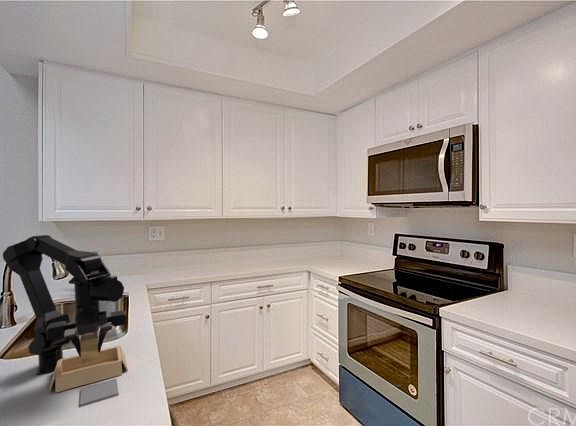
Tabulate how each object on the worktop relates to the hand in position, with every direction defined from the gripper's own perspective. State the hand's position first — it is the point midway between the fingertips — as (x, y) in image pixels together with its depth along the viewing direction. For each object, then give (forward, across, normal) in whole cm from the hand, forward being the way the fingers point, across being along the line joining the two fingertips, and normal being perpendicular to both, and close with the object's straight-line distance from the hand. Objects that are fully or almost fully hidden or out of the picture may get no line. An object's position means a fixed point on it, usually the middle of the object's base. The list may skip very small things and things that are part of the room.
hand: (90, 354), depth 88 cm
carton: (+6, 0, +1) cm, 6 cm away
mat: (+6, +2, -12) cm, 14 cm away
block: (+1, 0, +1) cm, 1 cm away
